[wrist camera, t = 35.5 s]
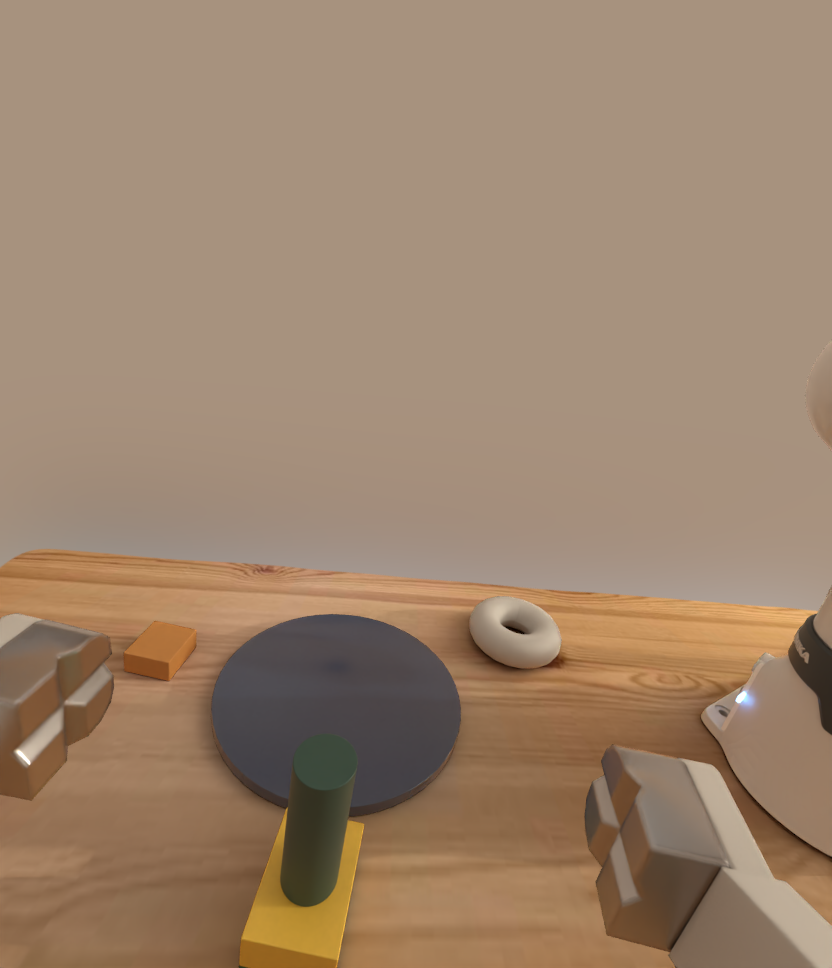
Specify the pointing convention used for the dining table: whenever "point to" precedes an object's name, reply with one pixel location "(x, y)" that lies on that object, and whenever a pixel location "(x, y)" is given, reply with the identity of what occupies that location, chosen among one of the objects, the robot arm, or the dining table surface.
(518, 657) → the donut
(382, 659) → the plate
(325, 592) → the dining table surface
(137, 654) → the orange block
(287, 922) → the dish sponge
